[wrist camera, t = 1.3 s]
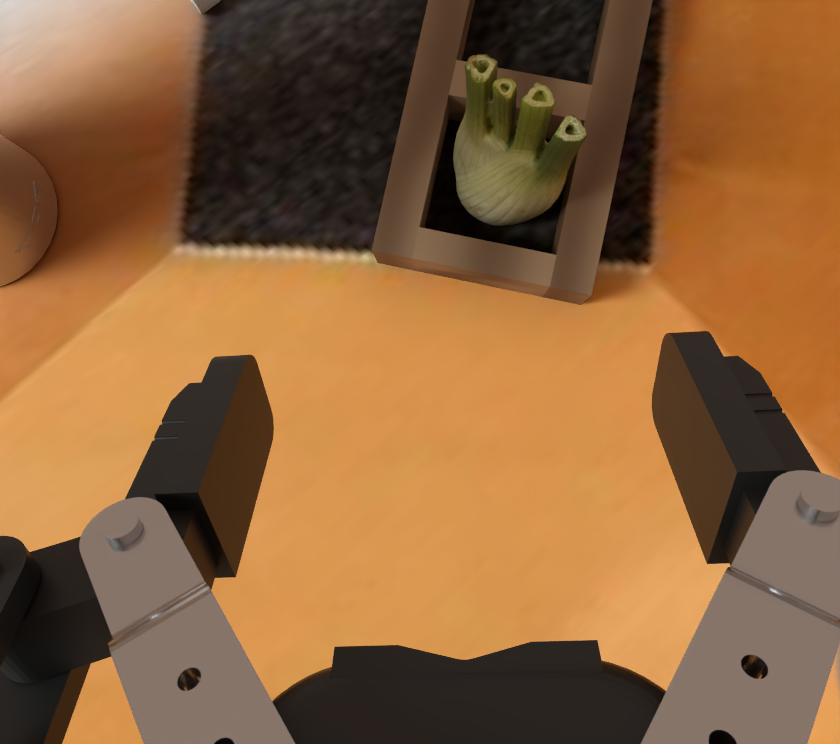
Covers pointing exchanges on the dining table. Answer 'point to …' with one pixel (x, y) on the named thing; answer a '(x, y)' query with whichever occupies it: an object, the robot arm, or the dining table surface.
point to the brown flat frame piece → (446, 99)
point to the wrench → (204, 4)
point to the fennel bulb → (510, 148)
